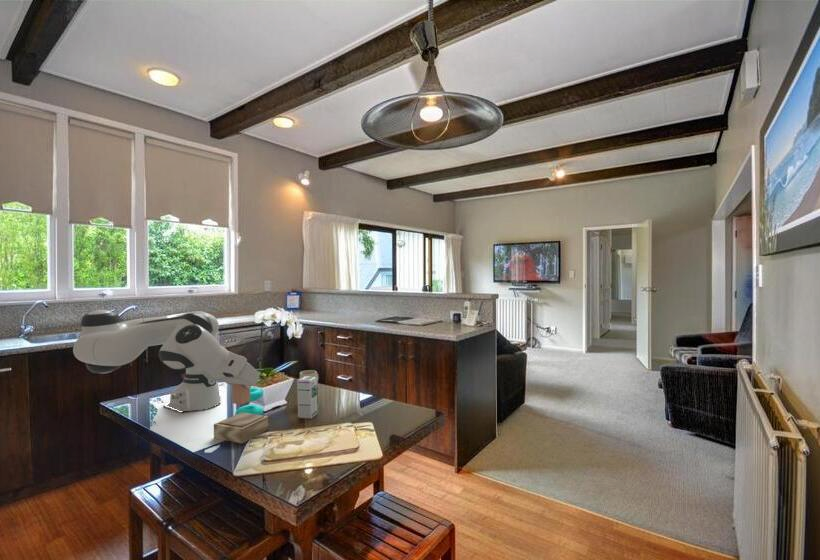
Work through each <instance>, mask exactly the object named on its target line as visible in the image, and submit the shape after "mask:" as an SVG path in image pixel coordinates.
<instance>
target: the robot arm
mask: <svg viewBox="0 0 820 560" xmlns="http://www.w3.org/2000/svg"><path fill="white" fill-rule="evenodd" d="M80 326H81V333H80V334H81V336H79V338H77V339H76V340H75V342H74V344H73V348H72V353H73V355H74V357H75V358H76V359H77V360H78V361H80V362H82V363H84V364H85V366H86V369H87V370H88V371H89V372H91V373H93V374H108V373H112V372H113V371H116V370H118V369H120V368H121V367H122V366H123V365H127V364H129V363H131V362H133V361H135V360H137V358H138V357H140V355H142V353H143V352H144V351H145V350H147V348H148V347H154V346H160V345H162V346H161V347H160V349H159V351H158V358H159V360H160V362H161V363H162V364H163V365H164V366H165V367H167V368H169V369H171V370H174V371H182V370H185V372H184V373H181V378H183V379H182V382H180V384H179V385H177V386H176V387H175V388H174V389H172V390H171V393H170V397H169V401H170V403H169V404H168V405H167V406H169V407H172V408H174V409H177V410H179V411H190V410H199V411H204V410H203V409H205V410H208V408H209V409H212V408H211V407H213V406H215V405H217V404H219V403H220V401H221V400H220V398H221V399H222V396H220V387H219V382H220V383H225V384H228V385H230V386H231V387H232V383H234V384H243V385H244V386H243V387H244V388H245V389H250V388H252V387H255V386H256V385H257V383H258V382H259V380H260V376H261V375H260V373H259V372H258V371H257V370H256V369H255V367H254V366H253V365H251V363H248V362H247V361H248V359H247V358H246V357H245V356H243V355H239V354H237V353H234V352H232V351H231V350H228V349H227V348H226V347H225V346H223V345H221V344H220V342H219V340H218V339H219V338H218V337H219V328H220V325H219V321H218V319H217V318H216V317H215V315H213V314H211V313H208V312H205V311H201V310H197V311H189V312H183V313H177V314H176V313H175V314H169V315H162V316H152V317H143V318H136V319H131V320H126V321H124V318H123V317H120V315H119V314H118V313H116V312H115V311H114V310H113V311H112V310H107V309H97V310H93V311H90V312H88V313H85V314H84V315H83V316H82V318H81V320H80ZM220 404H221V403H220ZM220 404H219V405H220ZM215 407H216V406H215ZM213 408H214V407H213ZM190 412H191V411H190Z"/></svg>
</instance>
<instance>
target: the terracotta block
mask: <svg viewBox="0 0 820 560" xmlns="http://www.w3.org/2000/svg"><path fill="white" fill-rule="evenodd" d="M243 386H244V385H243V384H234V383H232V386H231V404H234V405H244V404H246V403H249V401H250V389H245V388H244V387H243Z"/></svg>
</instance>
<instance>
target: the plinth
mask: <svg viewBox="0 0 820 560" xmlns="http://www.w3.org/2000/svg"><path fill="white" fill-rule="evenodd" d="M268 430H269V415H264V414H262V415H256V414H249V413H243V412H241V413H239V414H236V415H235V414H234V415H232V416H230V417H227V418H225V419H222V420H220V421H218V422H216V423H214V424H213V439H216V440H220V441H221V440H222V441H227V442H233V443H238V444H244V443H247V442H248V441H249V440H251V439H254V438H255V437H258V436H259V435H261V434H263V433H265V432H266V431H268Z"/></svg>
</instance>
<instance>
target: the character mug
mask: <svg viewBox="0 0 820 560" xmlns="http://www.w3.org/2000/svg"><path fill="white" fill-rule="evenodd" d="M304 376H305V377H306V376H313V377H317V382H319V373H318V372H317V371H316V370H314V369H313V370H311V369H310V370H309V369H308V370H302V371H300V372H299V378H298V379H297V381H298V380H299V379H301V378H303V377H304Z"/></svg>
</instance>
